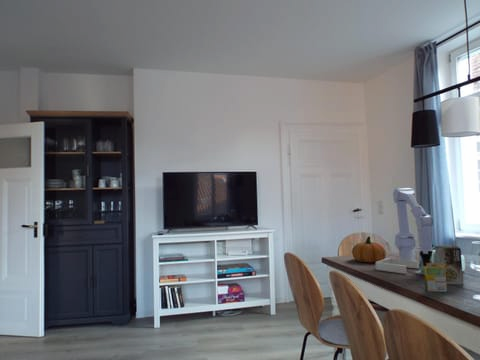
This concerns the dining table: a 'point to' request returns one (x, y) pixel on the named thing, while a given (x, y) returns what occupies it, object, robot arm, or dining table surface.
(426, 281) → the crayon box
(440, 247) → the coffee box
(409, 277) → the dining table surface
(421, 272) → the grey pad
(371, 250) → the pumpkin
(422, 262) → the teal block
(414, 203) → the robot arm
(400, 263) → the open side box
